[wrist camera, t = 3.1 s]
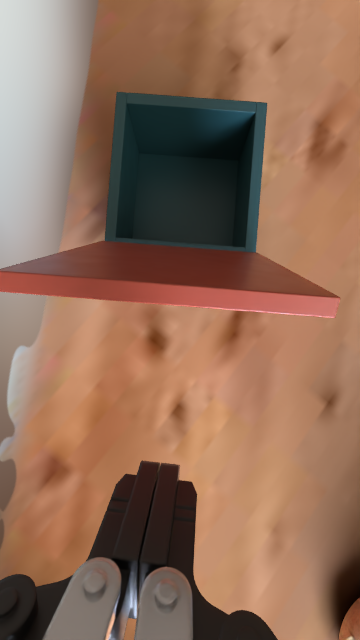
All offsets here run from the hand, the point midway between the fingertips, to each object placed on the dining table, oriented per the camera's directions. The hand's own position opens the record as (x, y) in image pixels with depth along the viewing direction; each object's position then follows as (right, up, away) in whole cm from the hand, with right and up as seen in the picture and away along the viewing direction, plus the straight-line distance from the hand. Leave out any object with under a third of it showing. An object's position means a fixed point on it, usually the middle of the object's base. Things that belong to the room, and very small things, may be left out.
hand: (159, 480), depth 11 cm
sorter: (+1, +20, +24) cm, 31 cm away
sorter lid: (+1, +10, +8) cm, 13 cm away
